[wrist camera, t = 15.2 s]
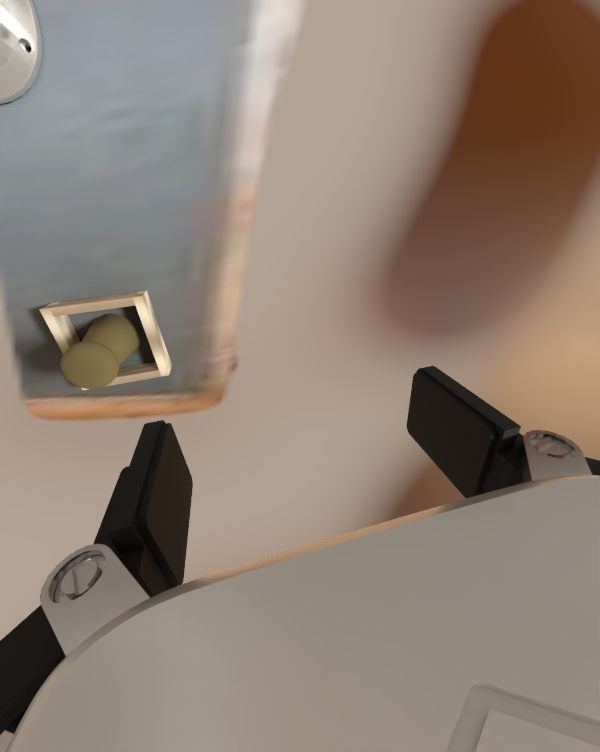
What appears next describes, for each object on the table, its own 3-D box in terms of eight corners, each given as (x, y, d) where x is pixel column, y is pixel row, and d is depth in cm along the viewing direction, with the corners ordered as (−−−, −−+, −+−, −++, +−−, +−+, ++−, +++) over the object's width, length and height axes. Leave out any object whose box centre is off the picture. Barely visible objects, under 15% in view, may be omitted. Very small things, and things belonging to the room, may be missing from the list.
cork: (88, 349, 39) (47, 391, 30) (93, 307, 37) (50, 338, 28) (137, 360, 42) (114, 402, 32) (145, 321, 39) (122, 354, 30)
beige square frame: (52, 302, 36) (39, 309, 33) (146, 290, 38) (141, 296, 35) (91, 379, 41) (82, 390, 39) (171, 365, 43) (168, 375, 41)
